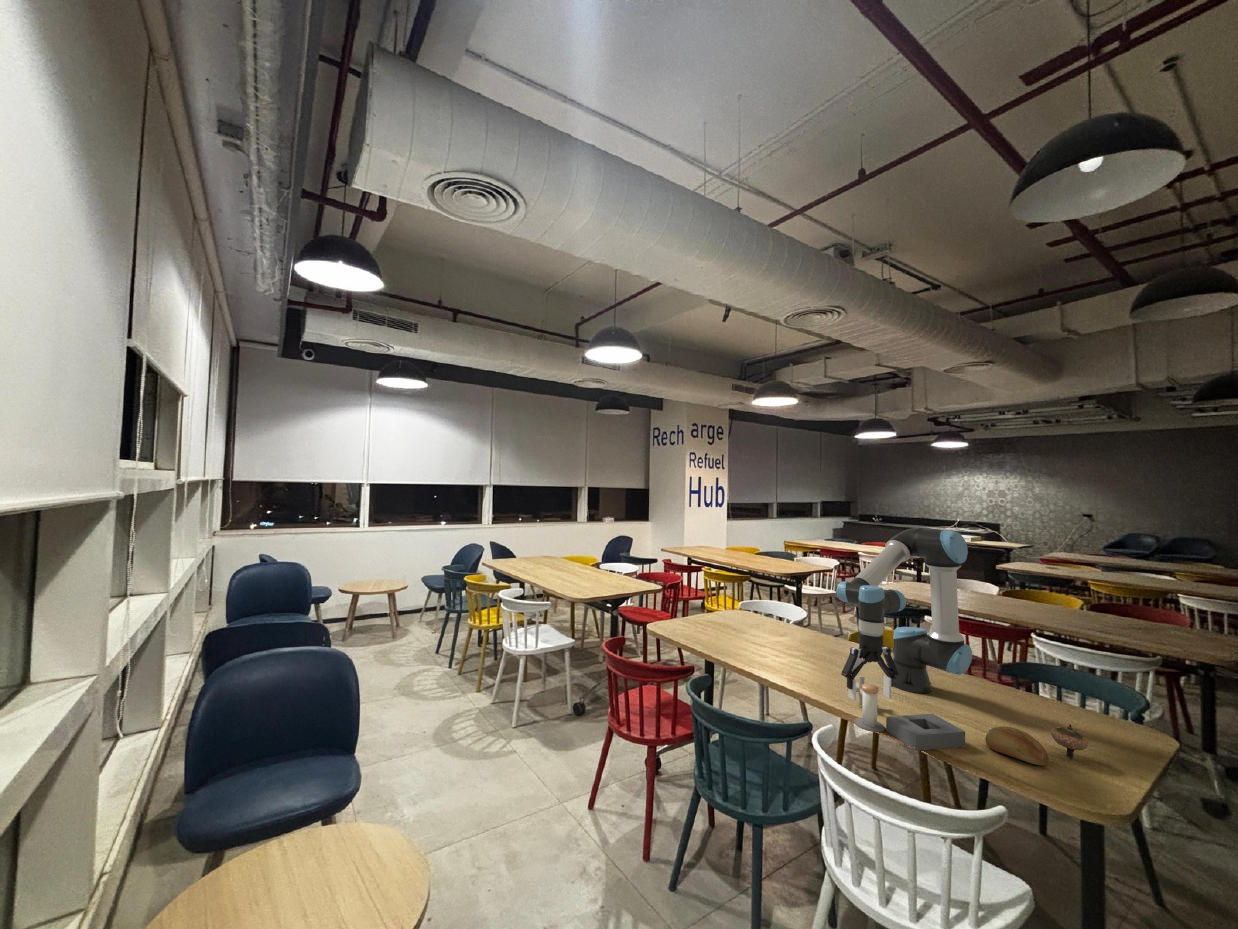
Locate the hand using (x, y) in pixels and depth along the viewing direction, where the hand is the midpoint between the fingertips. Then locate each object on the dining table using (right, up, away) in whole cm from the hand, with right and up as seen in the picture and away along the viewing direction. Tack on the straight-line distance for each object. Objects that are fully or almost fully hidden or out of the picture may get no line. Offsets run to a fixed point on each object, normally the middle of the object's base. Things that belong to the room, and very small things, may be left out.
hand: (869, 697), depth 161 cm
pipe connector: (+5, -10, +16) cm, 20 cm away
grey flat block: (+13, -9, -8) cm, 18 cm away
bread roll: (+35, -10, -17) cm, 40 cm away
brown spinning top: (+52, -11, -16) cm, 55 cm away
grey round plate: (0, -9, 0) cm, 9 cm away
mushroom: (0, -9, 0) cm, 9 cm away
